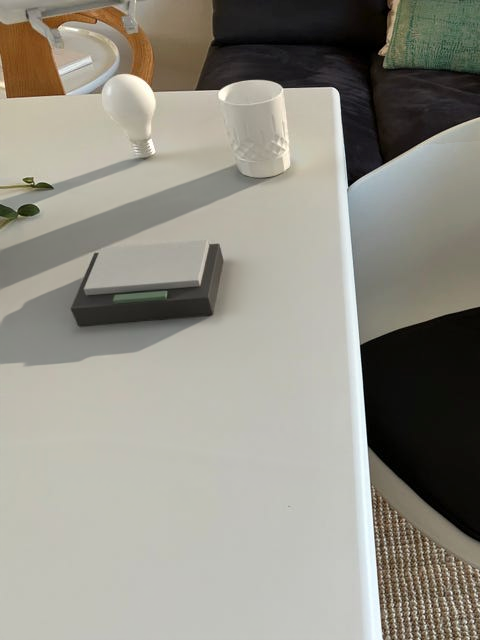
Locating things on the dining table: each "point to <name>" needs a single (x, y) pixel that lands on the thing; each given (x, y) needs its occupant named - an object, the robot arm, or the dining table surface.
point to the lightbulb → (131, 110)
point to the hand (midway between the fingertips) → (96, 38)
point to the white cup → (256, 126)
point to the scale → (149, 283)
